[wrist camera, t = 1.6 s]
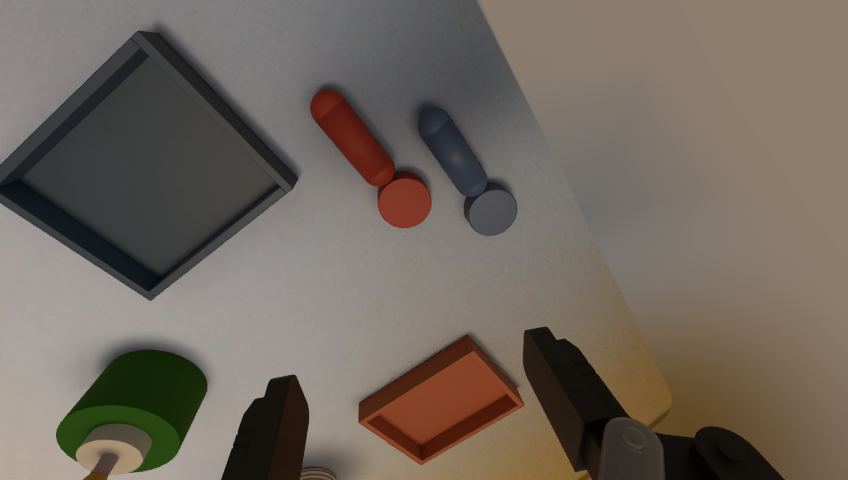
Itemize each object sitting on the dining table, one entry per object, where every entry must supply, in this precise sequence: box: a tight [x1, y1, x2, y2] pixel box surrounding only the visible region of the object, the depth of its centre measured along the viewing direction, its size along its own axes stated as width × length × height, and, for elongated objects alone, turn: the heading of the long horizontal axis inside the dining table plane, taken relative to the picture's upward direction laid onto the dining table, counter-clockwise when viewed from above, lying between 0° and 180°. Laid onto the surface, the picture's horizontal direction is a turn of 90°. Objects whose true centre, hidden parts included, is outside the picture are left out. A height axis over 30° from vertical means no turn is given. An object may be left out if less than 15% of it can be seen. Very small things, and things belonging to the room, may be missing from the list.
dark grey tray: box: [0, 31, 298, 301], centre depth 23 cm, size 14×11×2 cm
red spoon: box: [310, 90, 431, 228], centre depth 25 cm, size 11×4×2 cm, turn 35°
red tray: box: [358, 335, 524, 465], centre depth 38 cm, size 14×11×2 cm
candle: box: [56, 350, 207, 480], centre depth 28 cm, size 8×8×10 cm
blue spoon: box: [418, 108, 517, 236], centre depth 26 cm, size 11×4×2 cm, turn 35°
